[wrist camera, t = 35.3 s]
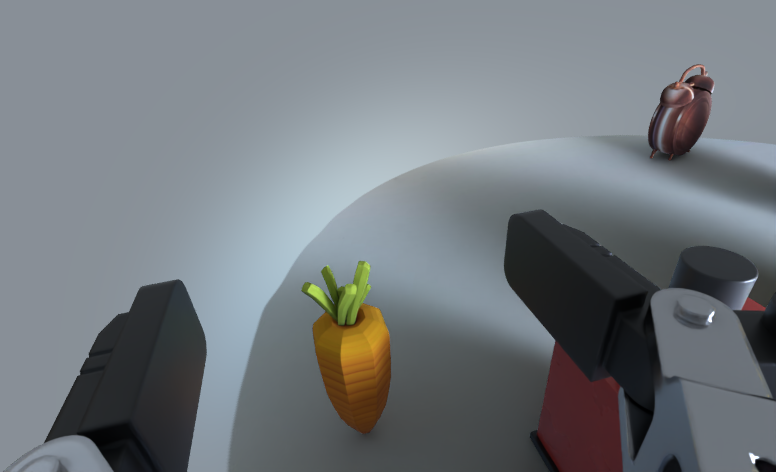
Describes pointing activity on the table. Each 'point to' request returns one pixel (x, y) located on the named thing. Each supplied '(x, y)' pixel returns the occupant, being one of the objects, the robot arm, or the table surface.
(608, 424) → the knife block
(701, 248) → the slider
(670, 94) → the alarm clock
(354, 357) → the carrot
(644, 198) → the table surface
